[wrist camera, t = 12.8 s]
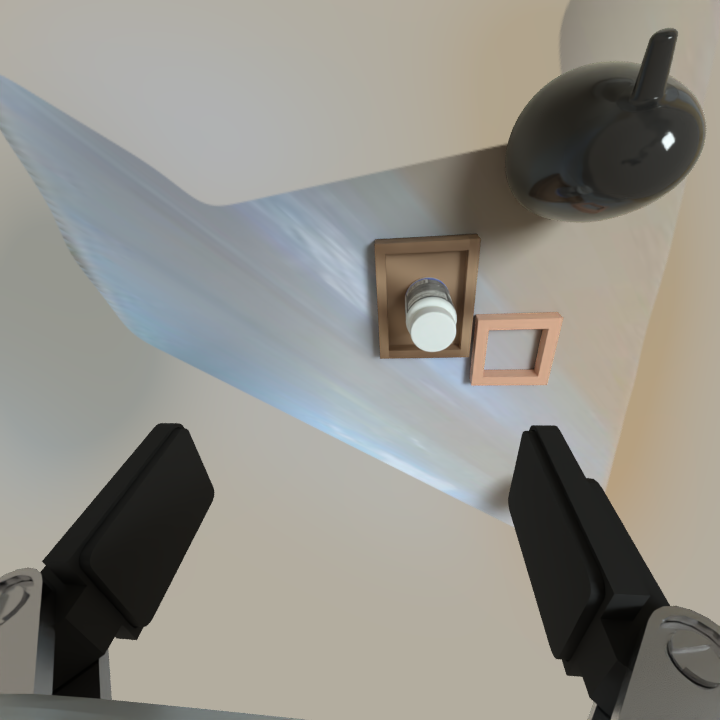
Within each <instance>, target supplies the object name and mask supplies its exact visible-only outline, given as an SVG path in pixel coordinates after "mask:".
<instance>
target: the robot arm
mask: <svg viewBox="0 0 720 720" xmlns="http://www.w3.org/2000/svg"><path fill="white" fill-rule="evenodd" d="M213 498H214V488H213V486H212V483H211V481H210V479H209V476H208V474H207V472H206V469H205V467H204V465H203V463H202V461H201V458H200V456H199V453H198V451H197V449H196V447H195V444H194V442H193V440H192V438H191V435H190V433H189V431H188V430H187V429H185V428H184V427H183V425H181V424H177V423H175V424H174V423H160V424H158V425H156V426H155V427H154V428H153V430H152V431H151V432H150V433H149V434H148V436H147V437H146V438H145V439H144V440H143V442H142V443H141V444H140V445H139V446H138V448H137V449H136V450H135V451H134V452H133V454H132V455H131V456H130V457H129V458H128V459H127V461H126V462H125V463H124V464H123V465H122V467H121V468H120V469H119V470H118V472H117V473H116V474H115V475H114V476H113V478H112V479H111V480H110V481H109V482H108V483H107V485H106V486H105V487H104V488H103V489H102V491H101V492H100V493H99V494H98V495H97V496H96V498H95V499H94V500H93V501H92V502H91V504H90V505H89V506H88V507H87V508H86V510H85V511H84V512H83V513H82V514H81V516H80V517H79V518H78V519H77V520H76V522H75V523H74V524H73V525H72V527H71V528H70V529H69V530H68V531H67V532H66V534H65V535H64V536H63V537H62V538H61V540H60V541H59V542H58V543H57V544H56V545H55V547H54V548H53V549H52V550H51V551H50V553H49V554H48V555H47V556H46V557H45V559H44V560H43V561H42V562H43V563H44V564H45V565H46V566H45V567H44V569H43V570H42V571H41V572H39V571H38V570H37V569H33V568H24V569H18V570H15V571H13V572H10V573H8V574H5V575H3V576H2V577H1V578H0V720H303V719H293V718H284V717H274V716H264V715H256V714H246V713H236V712H227V711H217V710H207V709H197V708H186V707H178V706H166V705H157V704H147V703H137V702H127V701H116V700H112V698H111V684H110V669H109V653H108V648H109V646H110V644H111V642H112V641H113V639H114V637H116V638H119V639H131V640H137V639H138V637H139V635H140V633H141V631H142V629H143V627H145V626H147V625H148V624H149V623H150V622H151V620H152V619H153V617H154V615H155V613H156V611H157V609H158V607H159V605H160V603H161V601H162V599H163V597H164V595H165V593H166V591H167V589H168V587H169V586H170V584H171V582H172V580H173V578H174V575H175V574H176V572H177V570H178V568H179V566H180V564H181V562H182V560H183V558H184V556H185V554H186V552H187V550H188V548H189V546H190V544H191V542H192V540H193V538H194V536H195V534H196V532H197V531H198V529H199V527H200V525H201V523H202V521H203V519H204V517H205V515H206V513H207V511H208V509H209V507H210V505H211V503H212V501H213ZM508 503H509V510H510V514H511V517H512V520H513V524H514V527H515V530H516V534H517V537H518V541H519V544H520V547H521V551H522V554H523V557H524V561H525V564H526V568H527V571H528V574H529V578H530V581H531V584H532V587H533V591H534V595H535V598H536V601H537V605H538V608H539V611H540V615H541V618H542V621H543V625H544V628H545V632H546V635H547V638H548V642H549V645H550V648H551V651H552V653H553V655H554V657H555V658H556V659H562V662H563V665H564V668H565V671H566V674H567V675H568V676H581V677H583V680H584V682H585V685H586V688H587V691H588V694H589V697H590V698H591V699H592V700H593V701H594V702H593V705H592V708H591V711H590V714H589V717H588V719H587V720H720V626H718V625H717V624H716V623H714V622H713V621H711V620H710V619H709V618H707V617H705V616H703V615H701V614H699V613H697V612H695V611H692V610H690V609H686V608H682V607H678V606H670V605H669V603H668V602H667V600H666V598H665V596H664V595H663V593H662V591H661V589H660V587H659V586H658V584H657V582H656V581H655V579H654V577H653V576H652V574H651V572H650V570H649V568H648V567H647V565H646V563H645V562H644V560H643V558H642V556H641V555H640V553H639V551H638V549H637V548H636V546H635V544H634V543H633V541H632V539H631V537H630V536H629V534H628V532H627V530H626V529H625V527H624V525H623V523H622V522H621V520H620V518H619V517H618V515H617V513H616V512H615V510H614V508H613V506H612V504H611V503H610V501H609V499H608V497H607V496H606V494H605V492H604V491H603V489H602V487H601V486H600V485H599V483H598V482H597V481H595V480H594V479H590V478H586V477H585V476H584V474H583V472H582V470H581V468H580V466H579V465H578V463H577V461H576V459H575V457H574V455H573V454H572V452H571V450H570V448H569V446H568V444H567V443H566V441H565V439H564V437H563V435H562V434H561V432H560V430H559V429H558V427H557V426H535V425H533V426H531V427H530V430H529V431H524V432H523V434H522V438H521V442H520V447H519V451H518V456H517V461H516V465H515V470H514V474H513V479H512V483H511V488H510V492H509V498H508Z"/></svg>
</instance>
